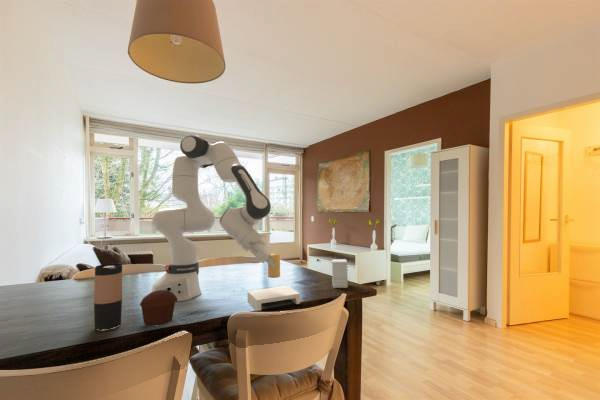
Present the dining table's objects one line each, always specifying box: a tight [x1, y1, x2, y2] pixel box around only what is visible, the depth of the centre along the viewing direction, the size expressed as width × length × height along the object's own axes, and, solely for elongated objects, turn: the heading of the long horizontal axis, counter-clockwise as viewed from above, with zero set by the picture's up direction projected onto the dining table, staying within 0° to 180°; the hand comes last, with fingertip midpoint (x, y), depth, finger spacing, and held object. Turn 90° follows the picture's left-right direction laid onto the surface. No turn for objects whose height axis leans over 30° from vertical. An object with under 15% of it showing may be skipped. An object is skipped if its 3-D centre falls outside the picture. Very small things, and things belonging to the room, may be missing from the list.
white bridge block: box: [247, 285, 301, 312], centre depth 116 cm, size 18×13×4 cm
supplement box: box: [331, 258, 349, 289], centre depth 140 cm, size 7×7×13 cm
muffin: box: [139, 290, 178, 326], centre depth 98 cm, size 12×11×10 cm
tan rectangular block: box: [267, 253, 281, 279], centre depth 116 cm, size 5×5×9 cm
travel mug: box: [93, 262, 123, 330], centre depth 93 cm, size 8×8×20 cm
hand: (275, 264), depth 117 cm, fingers closed on tan rectangular block, 5 cm apart
